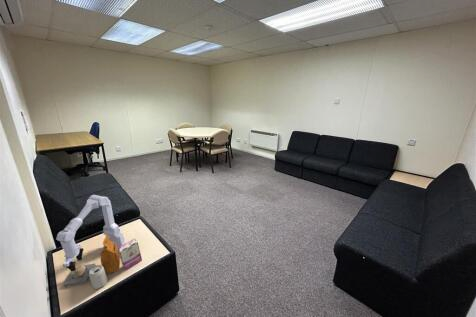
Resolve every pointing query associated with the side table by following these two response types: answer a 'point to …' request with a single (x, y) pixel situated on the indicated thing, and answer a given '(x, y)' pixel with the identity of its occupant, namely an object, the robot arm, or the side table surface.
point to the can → (98, 276)
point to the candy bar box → (129, 254)
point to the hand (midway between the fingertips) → (77, 265)
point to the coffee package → (110, 256)
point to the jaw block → (79, 271)
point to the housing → (80, 280)
